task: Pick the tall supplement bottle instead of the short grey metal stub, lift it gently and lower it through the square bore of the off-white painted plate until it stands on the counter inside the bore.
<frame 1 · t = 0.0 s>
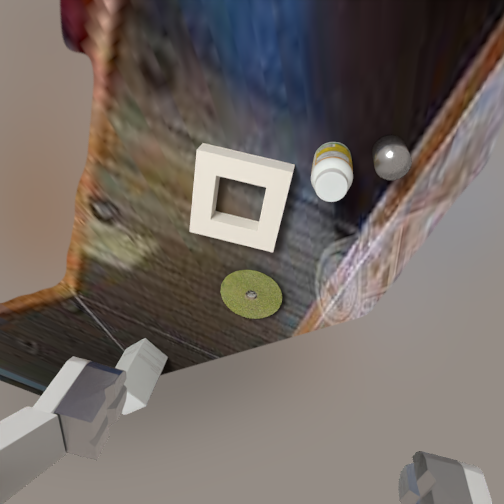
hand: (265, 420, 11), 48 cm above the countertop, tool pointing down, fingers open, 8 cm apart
green disc: (253, 288, 71), on the countertop
supplement box: (147, 352, 87), on the countertop
supplement bottle: (332, 159, 55), on the countertop
short stub: (388, 150, 53), on the countertop
bore plate: (241, 195, 61), on the countertop
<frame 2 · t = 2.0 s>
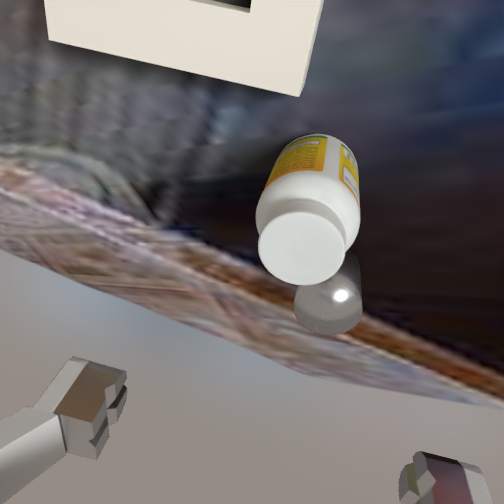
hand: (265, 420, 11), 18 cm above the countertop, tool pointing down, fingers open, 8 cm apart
supplement bottle: (315, 170, 25), on the countertop
short stub: (329, 266, 29), on the countertop
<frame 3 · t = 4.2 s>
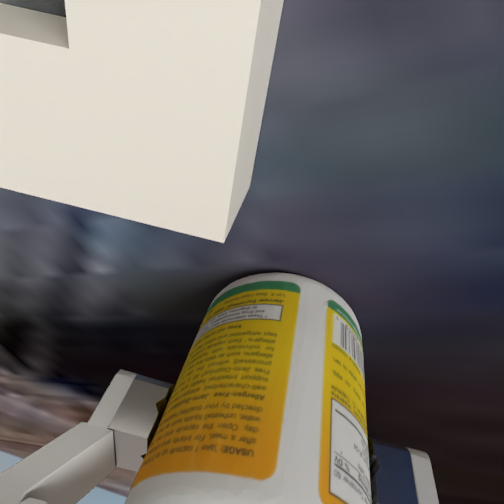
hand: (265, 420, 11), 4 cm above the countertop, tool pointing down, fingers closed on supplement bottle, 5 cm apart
supplement bottle: (282, 323, 14), on the countertop, touching gripper
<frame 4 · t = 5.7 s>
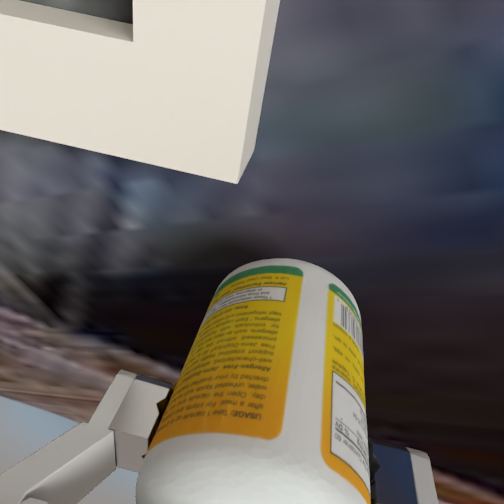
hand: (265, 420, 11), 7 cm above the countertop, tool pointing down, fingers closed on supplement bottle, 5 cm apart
supplement bottle: (284, 307, 14), point 3 cm above the countertop, touching gripper
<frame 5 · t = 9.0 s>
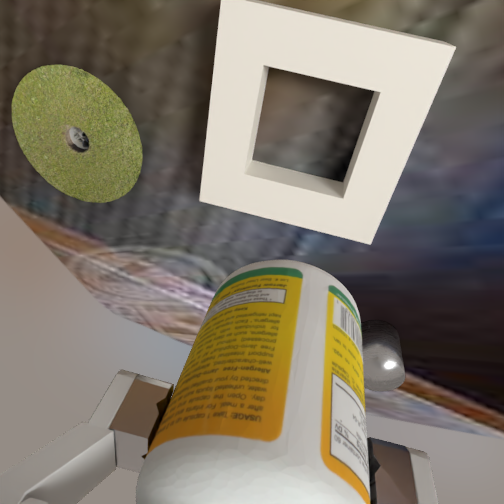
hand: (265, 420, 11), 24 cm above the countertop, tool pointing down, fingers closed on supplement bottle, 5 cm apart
green disc: (90, 132, 33), on the countertop
supplement bottle: (284, 309, 14), point 19 cm above the countertop, touching gripper
short stub: (375, 336, 39), on the countertop
bore plate: (309, 124, 29), on the countertop
when the fingers open (5 cm above the countertop, at t = 12.6 s): supplement bottle stays where it is, resting in bore plate.
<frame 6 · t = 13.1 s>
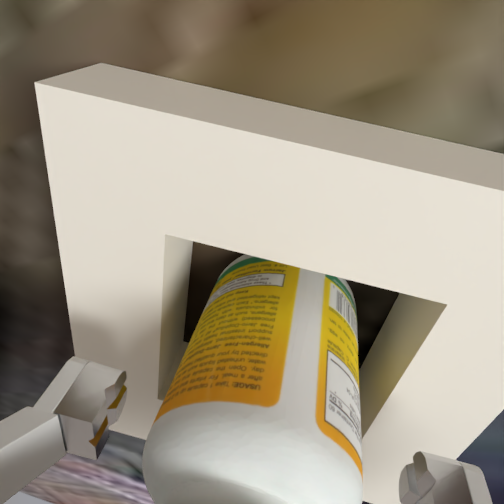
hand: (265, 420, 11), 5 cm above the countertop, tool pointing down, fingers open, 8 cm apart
supplement bottle: (283, 297, 15), resting in bore plate
bore plate: (284, 300, 15), on the countertop
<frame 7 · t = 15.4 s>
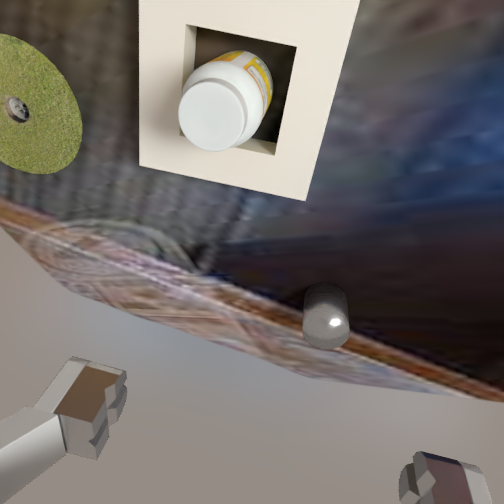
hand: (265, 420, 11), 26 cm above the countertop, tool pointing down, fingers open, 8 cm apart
green disc: (31, 104, 34), on the countertop
supplement bottle: (239, 86, 30), resting in bore plate
short stub: (325, 298, 41), on the countertop
bore plate: (240, 86, 30), on the countertop
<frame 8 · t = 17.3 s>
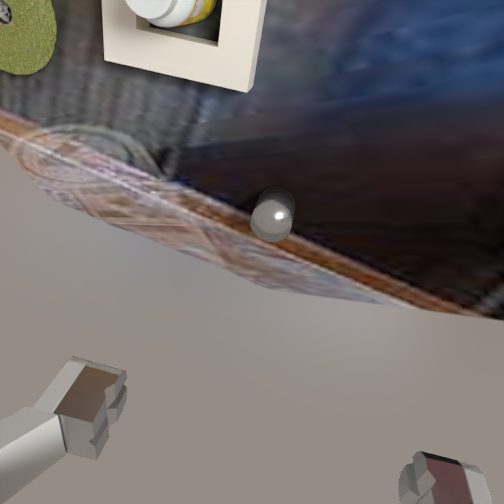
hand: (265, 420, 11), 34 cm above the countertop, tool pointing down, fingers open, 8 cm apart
green disc: (15, 10, 39), on the countertop
short stub: (276, 203, 45), on the countertop
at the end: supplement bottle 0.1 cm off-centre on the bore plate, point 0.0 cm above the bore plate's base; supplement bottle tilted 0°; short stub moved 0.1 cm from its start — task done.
